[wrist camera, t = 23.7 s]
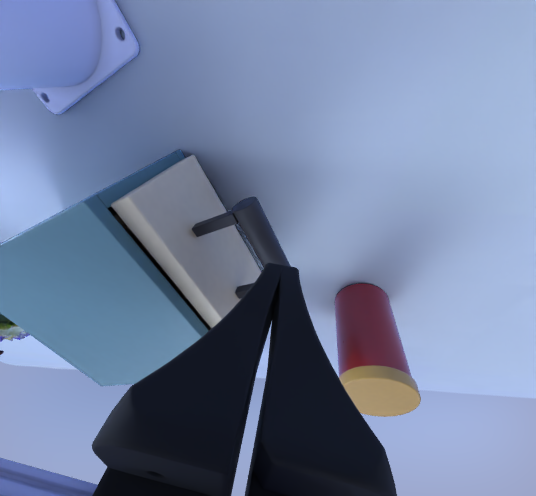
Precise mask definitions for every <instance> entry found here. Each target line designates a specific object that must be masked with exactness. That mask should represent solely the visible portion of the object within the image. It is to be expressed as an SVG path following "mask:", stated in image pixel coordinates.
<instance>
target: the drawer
mask: <svg viewBox="0 0 536 496" xmlns="http://www.w3.org/2000/svg"><path fill="white" fill-rule="evenodd" d="M108 210H109V211H110V212H111V214H112V215H113V216H114V217H115V218H116V220H117V221H118V222H119V223H120V224H121V226H122V227H123V228H124V229H125V230H126V232H127V233H128V234H129V235H130V236H131V238H132V239H133V240H134V241H135V242H136V244H137V245H138V246H139V247H140V248H141V250H142V251H143V252H144V253H145V254H146V256H147V257H148V258H149V259H150V260H151V262H152V263H153V264H154V265H155V266H156V268H157V269H158V270H159V271H160V272H161V274H162V275H163V276H164V277H165V278H166V280H167V281H168V282H169V283H170V284H171V286H172V287H173V288H174V289H175V290H176V292H177V293H178V294H179V295H180V296H181V298H182V299H183V300H184V301H185V302H186V304H187V305H188V306H189V307H190V308H191V310H192V311H193V312H194V313H195V314H196V316H197V317H198V318H199V319H200V320H201V322H202V323H203V324H204V325H205V327H206V328H207V329H208V330H211V329H212V328H213V327H214V326H215V325H216V324H217V323H218V322H220V321H221V320H222V319H223V318H224V317H225V316H226V315H227V314H228V313H229V312H230V311H231V310H232V309H233V308H234V306H235V305H236V304H237V303H238V302H239V301H240V300H241V299H242V298H243V296H244V295H245V294H246V293H247V292H248V290H249V289H250V288H251V286H252V285H253V284H254V283H255V281H256V280H257V278H258V277H259V275H260V274H261V270H260V268H259V267H258V265H257V263H256V262H255V260H254V258H253V256H252V255H251V253H250V251H249V249H248V248H247V246H246V244H245V242H244V241H243V239H242V237H241V236H240V234H239V232H238V230H237V229H236V227H235V224H237V223H238V222H239V224H240V226H241V228H242V229H243V231H244V233H245V235H246V236H247V238H248V240H249V242H250V244H251V245H252V247H253V249H254V251H255V252H256V254H257V256H258V258H259V260H260V261H261V263H262V265H263V267H265V265H266V264H267V263H274V264H279V265H284V266H290V264H289V262H288V260H287V258H286V256H285V254H284V252H283V250H282V248H281V246H280V244H279V242H278V240H277V238H276V236H275V234H274V232H273V230H272V228H271V226H270V224H269V222H268V220H267V218H266V216H265V214H264V212H263V210H262V207H261V205H260V203H259V201H258V199H257V198H256V197H249V198H247V199H244V200H242V201H240V202H239V203H237V204H236V205H235V206H234V207H233V208H232V211H229V212H227V211H226V209H225V208H224V206H223V204H222V203H221V201H220V199H219V197H218V196H217V194H216V192H215V190H214V189H213V187H212V185H211V183H210V182H209V180H208V178H207V177H206V175H205V173H204V171H203V170H202V168H201V166H200V164H199V163H198V161H197V159H196V157H195V156H194V155H191V156H189V157H187V158H185V159H183V160H181V161H179V162H177V163H176V164H174V165H173V166H171V167H169V168H168V169H166V170H165V171H163V172H161V173H160V174H158V175H157V176H155V177H153V178H152V179H150V180H148V181H147V182H145V183H144V184H142V185H140V186H139V187H137V188H136V189H134V190H132V191H131V192H129V193H128V194H126V195H124V196H123V197H121V198H120V199H118V200H116V201H115V202H113V203H112V204H111V207H109V208H108ZM290 267H291V266H290Z"/></svg>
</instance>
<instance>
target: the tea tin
mask: <svg viewBox="0 0 536 496" xmlns="http://www.w3.org/2000/svg"><path fill="white" fill-rule="evenodd" d="M335 314H336V331H337V348H338V366H339V379H340V381H341V383H342V385H343V386H344V388H345V390H346V392H347V393H348V395H349V396H350V398H351V400H352V401H353V403H354V404H355V406H356V407H357V409H358V411H359V412H360V413H362V414H367V415H372V416H384V417H386V416H397V415H402V414H406V413H409V412H411V411H413V410H414V409H416V408H417V407H418V406H419V404H420V400H421V398H420V394H419V390H418V387H417V384H416V382H415V381H414V379H413V378H412V376H411V373H410V370H409V366H408V363H407V360H406V356H405V353H404V349H403V346H402V343H401V339H400V336H399V333H398V329H397V326H396V322H395V319H394V316H393V312H392V309H391V306H390V302H389V299H388V296H387V294H386V293H385V292H384V291H383V290H382V289H381V288H379V287H377V286H374V285H371V284H363V283H361V284H353V285H350V286H347V287H345V288H343V289H342V290H341V291H340V292H339V293H338V294H337V296H336V298H335Z"/></svg>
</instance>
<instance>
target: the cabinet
mask: <svg viewBox="0 0 536 496" xmlns="http://www.w3.org/2000/svg"><path fill="white" fill-rule="evenodd" d="M183 159H185V157H184V155H183V153H182V152H181V150H180V149H179V150H177V151H175V152H173V153H171V154H170V155H168V156H166V157H164V158H162V159H160V160H158V161H156V162H154V163H152V164H150V165H149V166H147V167H145V168H143V169H141V170H139V171H137V172H135V173H133V174H131V175H130V176H128V177H126V178H124V179H122V180H120V181H118V182H116V183H114V184H112V185H110V186H109V187H107V188H105V189H103V190H101V191H99V192H97V193H95V194H93V195H91V196H90V197H88V198H86V199H84V200H82V201H80V202H78V203H76V204H74V205H72V206H70V207H69V208H67V209H65V210H63V211H61V212H59V213H57V214H55V215H53V216H52V217H50V218H48V219H46V220H44V221H42V222H40V223H38V224H37V225H35V226H33V227H31V228H29V229H27V230H25V231H23V232H22V233H20V234H18V235H16V236H14V237H12V238H10V239H8V240H6V241H5V242H3V243H1V244H0V313H1V314H2V315H4V316H5V317H6V318H8V319H9V320H11V321H12V322H13V323H15V324H16V325H17V326H19V327H20V328H22V329H23V330H24V331H26V332H27V333H28V334H30V335H31V336H33V337H34V338H35V339H37V340H38V341H40V342H41V343H42V344H44V345H45V346H46V347H48V348H49V349H51V350H52V351H53V352H55V353H56V354H57V355H59V356H60V357H62V358H63V359H64V360H66V361H67V362H69V363H70V364H71V365H73V366H74V367H75V368H77V369H78V370H80V371H81V372H82V373H84V374H85V375H87V376H88V377H89V378H91V379H92V380H93V381H95V382H96V383H98V384H99V385H100V386H112V385H127V384H135V383H137V382H138V381H140V380H142V379H143V378H145V377H146V376H148V375H149V374H151V373H152V372H154V371H156V370H157V369H159V368H160V367H162V366H163V365H165V364H166V363H168V362H169V361H171V360H172V359H173V358H175V357H176V356H178V355H179V354H180V353H182V352H183V351H184V350H186V349H187V348H188V347H190V346H191V345H193V344H194V343H195V342H196V341H198V340H199V339H200V338H201V337H202V336H204V335H205V334H206V333H207V332H208V331H209V330H208V329H207V328H206V327H205V325H204V324H203V323H202V322H201V320H200V319H199V318H198V317H197V316H196V314H195V313H194V312H193V311H192V310H191V308H190V307H189V306H188V305H187V304H186V302H185V301H184V300H183V299H182V298H181V296H180V295H179V294H178V293H177V292H176V290H175V289H174V288H173V287H172V286H171V284H170V283H169V282H168V281H167V280H166V278H165V277H164V276H163V275H162V274H161V272H160V271H159V270H158V269H157V268H156V266H155V265H154V264H153V263H152V262H151V260H150V259H149V258H148V257H147V256H146V254H145V253H144V252H143V251H142V250H141V248H140V247H139V246H138V245H137V244H136V242H135V241H134V240H133V239H132V238H131V236H130V235H129V234H128V233H127V232H126V230H125V229H124V228H123V227H122V226H121V224H120V223H119V222H118V221H117V220H116V218H115V217H114V216H113V215H112V214H111V212H110V211H109V210H108V208H109V207H111V204H112V203H113V202H115V201H116V200H118V199H120V198H121V197H123V196H124V195H126V194H128V193H129V192H131V191H132V190H134V189H136V188H137V187H139V186H140V185H142V184H144V183H145V182H147V181H148V180H150V179H152V178H153V177H155V176H157V175H158V174H160V173H161V172H163V171H165V170H166V169H168V168H169V167H171V166H173V165H174V164H176V163H177V162H179V161H181V160H183Z"/></svg>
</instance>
